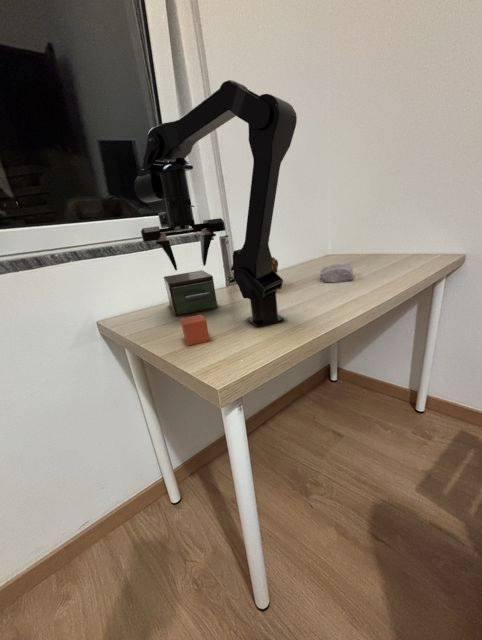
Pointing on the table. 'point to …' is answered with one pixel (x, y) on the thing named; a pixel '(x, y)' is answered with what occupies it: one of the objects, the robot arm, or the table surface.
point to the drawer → (194, 296)
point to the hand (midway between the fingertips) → (190, 267)
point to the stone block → (337, 273)
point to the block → (195, 329)
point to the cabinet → (185, 279)
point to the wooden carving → (274, 264)
